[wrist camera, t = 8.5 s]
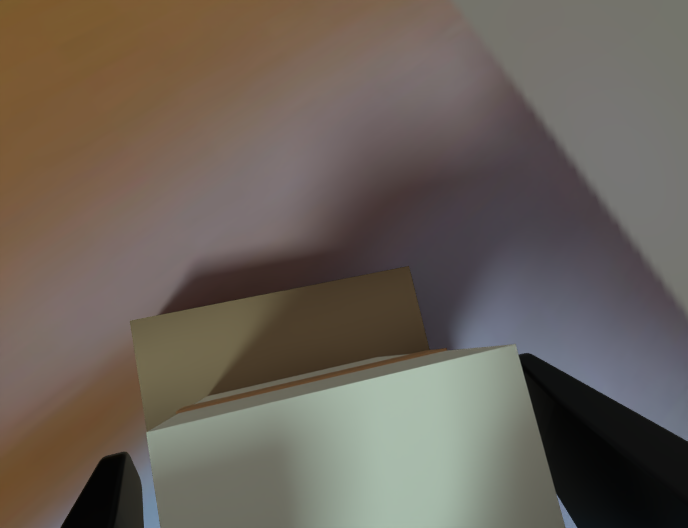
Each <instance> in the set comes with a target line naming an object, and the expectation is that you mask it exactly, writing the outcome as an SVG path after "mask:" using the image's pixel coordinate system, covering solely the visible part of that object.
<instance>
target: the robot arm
mask: <svg viewBox="0 0 688 528" xmlns="http://www.w3.org/2000/svg"><path fill="white" fill-rule="evenodd" d="M519 359H520V363H521V366H522V370H523V374H524V377H525V381H526V385H527V388H528V392H529V396H530V399H531V403H532V407H533V410H534V414H535V418H536V422H537V425H538V429H539V433H540V436H541V440H542V444H543V447H544V451H545V455H546V458H547V462H548V466H549V469H550V473H551V477H552V480H553V484H554V488H555V491H556V494H557V495H558V497H559V499H560V500H561V502H562V503H563V505H564V507H565V508H566V510H567V512H568V513H569V515H570V517H571V518H572V520H573V521H574V523H575V525H576V526H577V528H688V441H686V440H684V439H682V438H681V437H679V436H677V435H675V434H673V433H672V432H670V431H668V430H666V429H665V428H663V427H661V426H659V425H657V424H656V423H654V422H652V421H650V420H648V419H647V418H645V417H643V416H641V415H640V414H638V413H636V412H634V411H632V410H631V409H629V408H627V407H625V406H623V405H622V404H620V403H618V402H616V401H614V400H613V399H611V398H609V397H607V396H606V395H604V394H602V393H600V392H598V391H597V390H595V389H593V388H591V387H589V386H588V385H586V384H584V383H582V382H581V381H579V380H577V379H575V378H573V377H572V376H570V375H568V374H566V373H564V372H563V371H561V370H559V369H557V368H556V367H554V366H552V365H550V364H548V363H547V362H545V361H543V360H541V359H539V358H538V357H536V356H534V355H532V354H529V353H524V354H519ZM61 528H144V520H143V499H142V485H141V480H140V477H139V475H138V473H137V470H136V468H135V466H134V464H133V461H132V459H131V457H130V455H129V454H128V453H127V452H120V453H116V454H112V455H108V456H105V457H103V458H102V459H101V460H100V461H99V463H98V465H97V466H96V468H95V470H94V472H93V473H92V475H91V477H90V478H89V480H88V482H87V483H86V485H85V487H84V489H83V490H82V492H81V494H80V495H79V497H78V499H77V500H76V502H75V504H74V506H73V507H72V509H71V511H70V512H69V514H68V516H67V517H66V519H65V521H64V523H63V524H62V526H61Z"/></svg>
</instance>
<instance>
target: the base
mask: <svg viewBox="0 0 688 528" xmlns="http://www.w3.org/2000/svg"><path fill="white" fill-rule="evenodd" d="M130 325H131V331H132V338H133V344H134V351H135V357H136V364H137V370H138V377H139V383H140V390H141V396H142V403H143V409H144V416H145V422H146V429H147V432H148V431H150V430H151V429H153V428H155V427H156V426H158V425H160V424H161V423H163V422H165V421H166V420H168V419H170V418H171V417H173V416H175V415H176V411H177V410H179V409H181V408H183V407H185V406H189V405H193V404H195V403H197V402H198V401H200V400H202V399H203V398H205V397H207V396H211V395H215V394H219V393H224V392H228V391H232V390H237V389H241V388H245V387H250V386H254V385H258V384H263V383H267V382H271V381H276V380H280V379H285V378H289V377H293V376H298V375H302V374H306V373H311V372H315V371H319V370H324V369H328V368H332V367H337V366H341V365H345V364H350V363H354V362H358V361H363V360H367V359H371V358H376V357H384V356H395V355H405V354H413V353H417V352H422V351H426V350H430V349H429V345H428V341H427V337H426V333H425V329H424V325H423V321H422V317H421V313H420V309H419V305H418V301H417V297H416V293H415V288H414V284H413V280H412V276H411V272H410V268H409V266H406V267H401V268H396V269H391V270H386V271H381V272H376V273H371V274H366V275H361V276H355V277H350V278H345V279H340V280H335V281H330V282H325V283H320V284H315V285H310V286H305V287H300V288H294V289H289V290H284V291H279V292H274V293H269V294H264V295H259V296H254V297H249V298H244V299H239V300H233V301H228V302H223V303H218V304H213V305H208V306H203V307H198V308H193V309H188V310H183V311H178V312H172V313H167V314H162V315H157V316H152V317H147V318H142V319H137V320H132V321H130Z"/></svg>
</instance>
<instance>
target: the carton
mask: <svg viewBox="0 0 688 528" xmlns="http://www.w3.org/2000/svg"><path fill="white" fill-rule="evenodd" d="M146 435H147V441H148V448H149V455H150V461H151V468H152V474H153V481H154V488H155V494H156V501H157V508H158V514H159V521H160V527H161V528H565V525H564V521H563V517H562V513H561V510H560V506H559V502H558V499H557V495H556V491H555V488H554V484H553V480H552V477H551V473H550V469H549V466H548V462H547V458H546V455H545V451H544V447H543V444H542V440H541V436H540V433H539V429H538V425H537V422H536V418H535V414H534V410H533V407H532V403H531V399H530V396H529V392H528V388H527V385H526V381H525V377H524V374H523V370H522V366H521V363H520V359H519V355H518V352H517V348H516V344H513V345H502V346H491V347H481V348H470V349H459V350H448V351H447V348H444V349H434V350H426V351H422V352H417V353H413V354H405V355H395V356H384V357H376V358H371V359H367V360H363V361H358V362H354V363H350V364H345V365H341V366H337V367H332V368H328V369H324V370H319V371H315V372H311V373H306V374H302V375H298V376H293V377H289V378H285V379H280V380H276V381H271V382H267V383H263V384H258V385H254V386H250V387H245V388H241V389H237V390H232V391H228V392H224V393H219V394H215V395H211V396H207V397H205V398H203V399H202V400H200V401H198V402H197V403H195V404H193V405H189V406H185V407H183V408H181V409H179V410H177V411H176V415H175V416H173V417H171V418H170V419H168V420H166V421H165V422H163V423H161V424H160V425H158V426H156V427H155V428H153V429H151V430H150V431H148V432H146Z"/></svg>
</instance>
